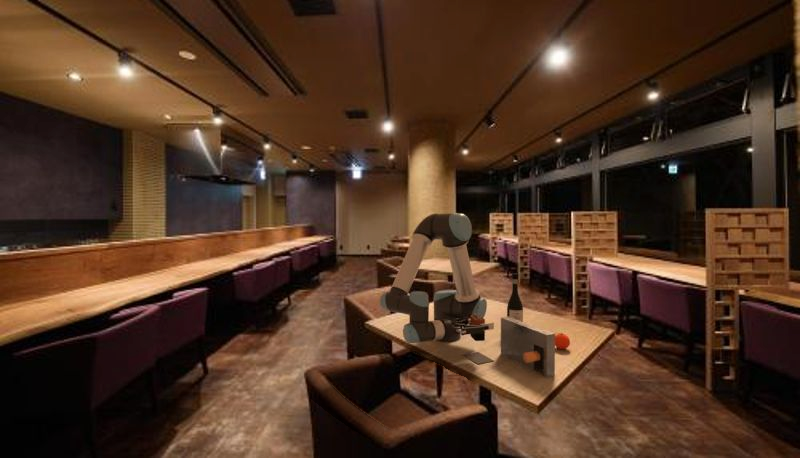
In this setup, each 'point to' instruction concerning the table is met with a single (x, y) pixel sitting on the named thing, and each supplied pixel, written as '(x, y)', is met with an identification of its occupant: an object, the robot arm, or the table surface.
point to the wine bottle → (515, 301)
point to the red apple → (562, 341)
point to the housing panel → (528, 344)
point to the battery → (477, 320)
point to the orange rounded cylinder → (531, 356)
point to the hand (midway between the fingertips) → (487, 323)
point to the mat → (478, 358)
